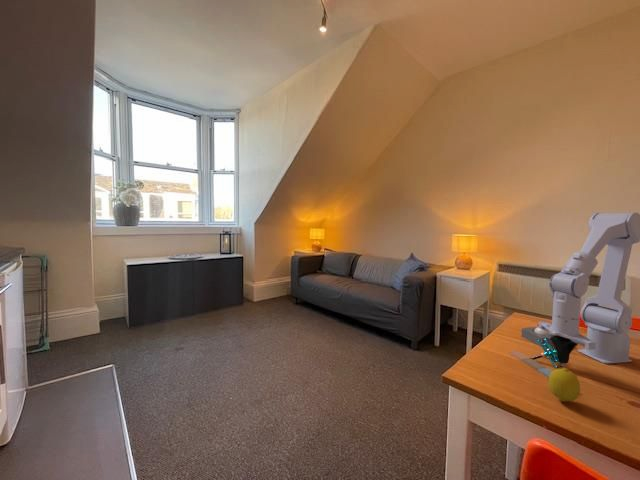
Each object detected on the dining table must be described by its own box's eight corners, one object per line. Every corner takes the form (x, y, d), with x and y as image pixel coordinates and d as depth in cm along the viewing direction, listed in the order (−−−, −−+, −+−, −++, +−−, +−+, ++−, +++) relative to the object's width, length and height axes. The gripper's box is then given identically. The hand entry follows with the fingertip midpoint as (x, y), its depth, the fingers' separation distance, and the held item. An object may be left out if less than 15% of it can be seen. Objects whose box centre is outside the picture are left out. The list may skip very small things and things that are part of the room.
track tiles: (517, 352, 88) (517, 350, 88) (563, 379, 74) (563, 377, 74) (508, 353, 88) (509, 351, 88) (553, 380, 73) (553, 378, 73)
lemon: (541, 394, 68) (543, 362, 67) (562, 393, 68) (564, 361, 67) (563, 410, 62) (565, 376, 62) (585, 408, 63) (588, 374, 62)
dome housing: (542, 334, 102) (543, 326, 101) (567, 346, 93) (567, 337, 92) (520, 335, 101) (520, 327, 100) (542, 347, 92) (543, 338, 91)
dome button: (542, 337, 99) (543, 321, 99) (556, 343, 94) (557, 327, 94) (529, 337, 99) (531, 322, 98) (542, 344, 94) (543, 328, 93)
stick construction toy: (563, 366, 75) (544, 337, 80) (536, 373, 79) (519, 346, 83) (569, 364, 83) (552, 338, 87) (544, 371, 87) (528, 345, 91)
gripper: (530, 308, 85) (528, 351, 86) (580, 326, 71) (576, 377, 72) (551, 307, 86) (548, 349, 87) (604, 325, 72) (600, 375, 73)
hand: (562, 362), depth 80 cm, fingers closed, pressing on stick construction toy
